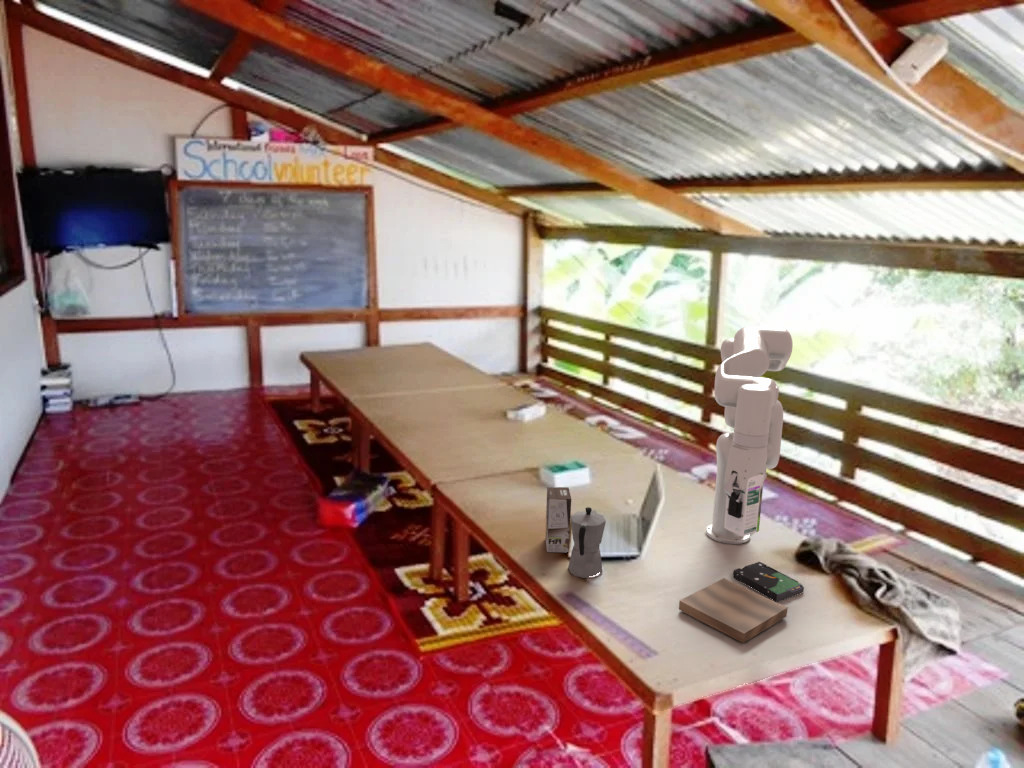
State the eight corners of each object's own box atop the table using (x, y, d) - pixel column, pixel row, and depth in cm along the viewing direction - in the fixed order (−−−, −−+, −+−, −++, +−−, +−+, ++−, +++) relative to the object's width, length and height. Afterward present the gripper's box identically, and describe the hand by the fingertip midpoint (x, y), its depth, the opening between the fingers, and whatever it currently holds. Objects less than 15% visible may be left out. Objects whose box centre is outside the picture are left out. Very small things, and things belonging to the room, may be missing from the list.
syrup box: (742, 537, 177) (748, 478, 173) (722, 528, 182) (728, 469, 178) (759, 532, 180) (765, 473, 176) (739, 522, 185) (745, 465, 181)
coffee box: (569, 553, 216) (571, 499, 212) (546, 552, 216) (548, 498, 212) (567, 538, 225) (569, 486, 221) (544, 538, 225) (546, 486, 221)
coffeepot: (573, 556, 214) (576, 496, 209) (607, 562, 211) (610, 500, 207) (560, 583, 199) (563, 518, 195) (596, 589, 197) (600, 523, 192)
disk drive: (731, 579, 205) (777, 604, 192) (732, 570, 204) (778, 594, 192) (758, 570, 210) (804, 593, 198) (759, 560, 209) (805, 583, 197)
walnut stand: (722, 588, 198) (723, 578, 198) (786, 618, 185) (787, 607, 184) (678, 611, 187) (679, 600, 186) (742, 645, 174) (744, 633, 173)
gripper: (757, 427, 183) (750, 498, 188) (713, 441, 172) (706, 516, 177) (786, 435, 178) (777, 508, 182) (742, 450, 167) (734, 527, 171)
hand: (742, 511), depth 180 cm, fingers closed on syrup box, 6 cm apart
